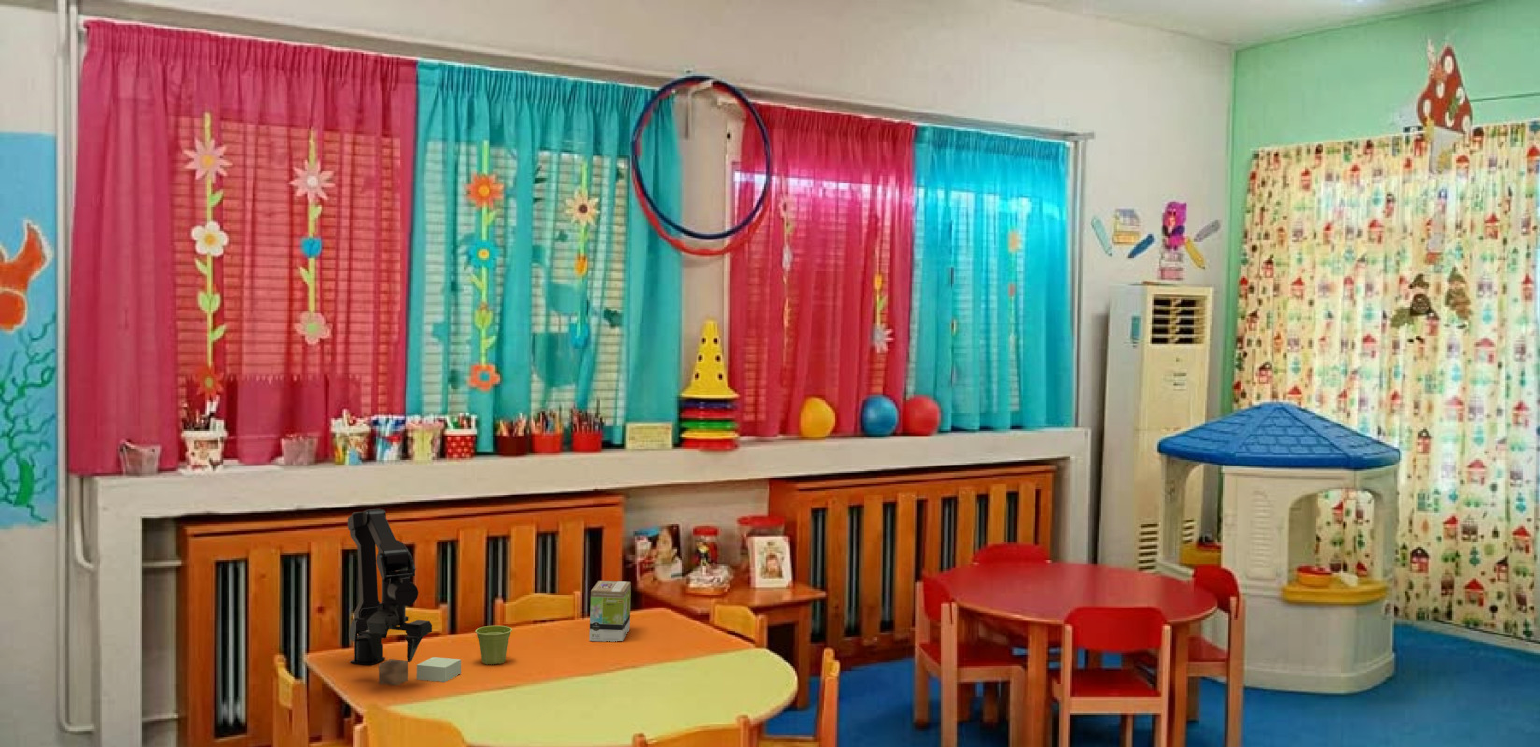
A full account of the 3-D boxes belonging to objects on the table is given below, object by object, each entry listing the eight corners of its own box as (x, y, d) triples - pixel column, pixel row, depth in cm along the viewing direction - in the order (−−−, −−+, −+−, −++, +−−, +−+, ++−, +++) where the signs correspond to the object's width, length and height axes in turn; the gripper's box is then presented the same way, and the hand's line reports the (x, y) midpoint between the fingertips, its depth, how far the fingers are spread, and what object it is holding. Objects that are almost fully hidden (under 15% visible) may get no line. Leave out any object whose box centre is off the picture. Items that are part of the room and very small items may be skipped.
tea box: (624, 642, 362) (624, 590, 361) (588, 642, 362) (589, 590, 361) (630, 630, 377) (631, 580, 376) (596, 629, 377) (597, 579, 376)
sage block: (416, 680, 322) (416, 665, 321) (433, 672, 329) (433, 657, 329) (445, 683, 320) (445, 667, 319) (461, 675, 327) (461, 659, 327)
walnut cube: (378, 684, 317) (379, 664, 317) (390, 678, 322) (390, 659, 322) (396, 686, 316) (396, 666, 316) (407, 680, 321) (408, 661, 321)
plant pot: (503, 668, 333) (503, 635, 333) (469, 665, 335) (469, 632, 335) (517, 658, 343) (517, 626, 342) (484, 656, 344) (484, 624, 344)
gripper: (341, 601, 313) (341, 664, 314) (408, 607, 308) (408, 672, 309) (368, 592, 324) (368, 653, 325) (433, 598, 319) (433, 660, 319)
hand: (393, 660), depth 319 cm, fingers open, 9 cm apart
